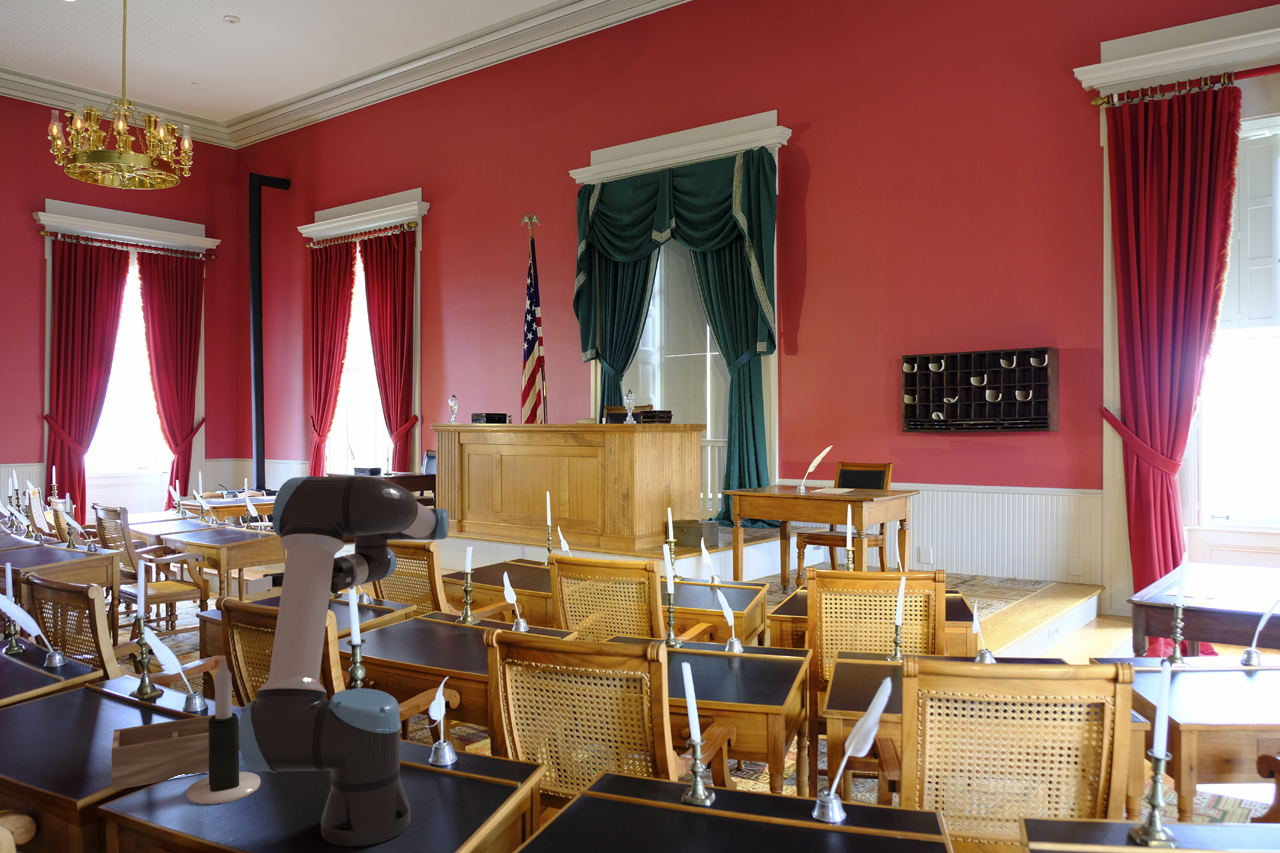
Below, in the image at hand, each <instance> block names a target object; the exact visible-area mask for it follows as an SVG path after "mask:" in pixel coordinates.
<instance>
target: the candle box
mask: <svg viewBox="0 0 1280 853" xmlns="http://www.w3.org/2000/svg"><path fill="white" fill-rule="evenodd" d="M214 715H215V714H210V715H203V716H196V717H191V718H189V717H188V718H183V719H182V718H181V719H178V720H177V719H176V720H172V721H171V720H170V721H165V722H158V723H151V724H144V725H138V726H131V727H123V728H119V729H118V728H117V729H114V730H113V737H112V745H111V791H112V792H113V791H119V790H123V789H128V788H133V787H140V786H141V787H142V786H144V785H150V784H151V785H152V784H157V783H161V782H162V783H163V782H166V781H165V780H168V779H170V778H173V777H175V776H178V775H182V774H185V775H188V774H196V773H203V772H209V719H211V717H212V716H214ZM168 781H169V780H168Z"/></svg>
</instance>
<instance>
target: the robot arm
mask: <svg viewBox="0 0 1280 853" xmlns="http://www.w3.org/2000/svg"><path fill="white" fill-rule="evenodd" d="M271 515H272V516H271V517H272V520H271V521H272V522H271V524H272V525H271V526H272V528H273V532H274V533H275V535H277V536H278V537H280V539H279V540H280V541H279V542H280V544H281V545H282V546H283V548H284V549H285V550H286V558H285V564H284V572H283V571H282V572H281V571H280V572H274V573H273V572H272V573H264V574H263V575H262V577H260V578H259V577H258V578H255V579H250V580H246V581H245V582H244V583H245V595H247V596H249V595H251V594H256V593H260V592H264V591H267V592H270V591H271V590H272V589H273V588H278V587H281V592H280V598H279V606H278V612H277V619H276V626H275V632H274V638H273V639H274V640H273V646H272V654H271V661H270V666H269V667H270V668H269V674H268V679H267V681H266V682H265V683H264V684H262V686H260V687H259V688H258V689H257V691H256V692H257V693H256V697H255V698H256V699H255V700H252V701H250V702H248V703H246V704H245V705H244V707H243V708H242V713H241V714H240V718H239V753H240V755H241V758H242V760H243V762H244V763H245V766H247V767H248V768H249V769H250V770H252V771H255V772H270V773H275V774H276V773H279V772H312V771H313V772H315V771H319V772H320V771H330V775H331V780H330V782H331V783H330V784H331V786H330V791H329V793H328V797H327V800H326V802H325V806H324V810H323V812H322V815H321V819H320V835H321V837H322V838H323V840H324V841H326V842H327V843H330V844H332V845H335V846H339V847H351V848H352V847H353V848H355V847H356V848H357V847H366V846H367V847H368V846H372V845H377V844H380V843H384V842H387V841H389V840H392V839H393V838H396V837H398V836H399V835H401V834H402V833H404V832H405V831H406V829H408V828H409V826H410V825H411V805H410V802H409V800H408V797H407V794H406V792H405V789H404V786H403V783H402V780H401V726H402V722H401V719H400V705H399V703H398V700H397V699H396V698H395V697H394V696H392V695H390V693H388V692H385V691H382V690H378V689H372V688H365V687H364V688H360V687H359V688H352V689H342V690H340V691H337V692H336V693H334V694H333V695H332V697H331V698H330V700H327V699H326V698H327V690H326V689H325V688H324V686H323V685H322V684H321V683H320V676H321V666H322V658H323V650H324V644H325V636H326V627H327V626H326V625H327V620H328V619H327V618H328V611H329V602H330V593H331V594H333V595H335V594H337V593H339V592H340V591H343V590H347V589H349V590H354V588H355V587H358V586H361V585H365V584H370V583H372V582H379V581H381V580H383V579H386V578H388V577H390V576H391V575H393V574H394V573H395V570H396V568H397V564H398V563H397V561H398V559H397V557H396V556H395V553H394V551H393V550H392V549H390V548H389V547H388V541H396V540H397V541H405V540H406V541H407V540H408V541H410V540H412V541H416V540H417V541H424V540H425V541H436V540H439V541H440V540H445V539H447V537H448V535H449V531H450V530H449V529H450V514H449V512H448V510H447V509H445V508H437V507H434V508H432V507H431V508H428V507H427V506H425V505H424V504H422V503H420V502H418V501H417V499H416V497H415V495H414V494H413V493H412V492H411V491H410V490H408V489H407V488H405V487H403V486H401V485H398V484H396V483H393V482H391V481H387V480H384V479H381V478H376V477H371V476H364V475H357V476H335V475H334V476H329V475H328V476H327V475H326V476H324V475H323V476H318V475H317V476H315V475H307V476H297V477H296V476H295V477H292V478H289V479H287V480H286V481H285V482H284V483H282V485H281V486H280V488H279V489H278V491H277V494H276V496H275V499H274V502H273V508H272V514H271ZM352 536H353V537H354V553H350V554H347V555H342V556H341V555H340V556H337V557H335V555H336V554H337V553H338V552H340V551H341V550H343V549H344V547H345V541H346V537H352Z"/></svg>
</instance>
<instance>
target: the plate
mask: <svg viewBox="0 0 1280 853" xmlns="http://www.w3.org/2000/svg"><path fill="white" fill-rule="evenodd" d="M259 786H260V787H261V777H260V776H259V775H258V774H256V773H254V772H250V771H249V772H248V771H239V786H238V787H236V788H232V789H227V790H222V791H217V792H212V791H210V785H209V776H207V777H204V778H203V777H202V778H201V779H198V780H197V781H195V782H194V783H191V784H190V785H189V786H188V787H187V789H186V792H185V796H187V797H186V799H187V798H188V799H189V800H188V799H187V800H188V801H189V802H190V801H191V803H192V802H195V803H194V804H196V803H198V804H197V805H204V804H211V805H219V804H218V803H220V804H225V803H226V802H227V803H230V802H231V803H232V802H234V801H238V800H240V798H241V799H244V798H246V797H248V796H251V795H252V794H253V793H255V792H256V791H257V790H259V788H260V787H259ZM254 791H255V792H254ZM251 793H252V794H251ZM243 797H244V798H243Z"/></svg>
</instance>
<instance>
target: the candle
mask: <svg viewBox="0 0 1280 853" xmlns="http://www.w3.org/2000/svg"><path fill="white" fill-rule="evenodd" d="M232 677H233V676H232V672H231V671H230V670H229V669H228V665H227V663H226V657H224V656H223V657H221V658H220V665H219V668H218V671H216V673H215V676H214V708H215V709H214V710H215V711H214V713H215V714H213V715H214V716H212V717H211V719H209V773H208V777H209V785H210V791H212V792H217V791H222V790H227V789H232V788H236V787H238V786H239V772H240V747H239V721H240V719H239V717H238V714H237V713H235V712H233V704H232V703H233V699H232V698H233V694H232V693H233V692H232V691H233V690H232V689H233V687H232V682H233V681H232Z"/></svg>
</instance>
